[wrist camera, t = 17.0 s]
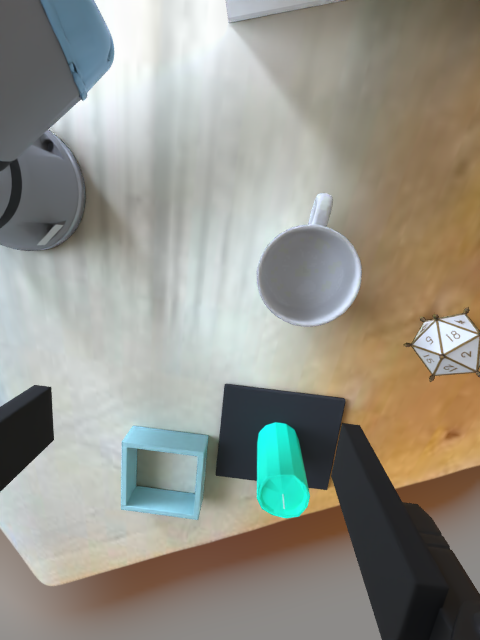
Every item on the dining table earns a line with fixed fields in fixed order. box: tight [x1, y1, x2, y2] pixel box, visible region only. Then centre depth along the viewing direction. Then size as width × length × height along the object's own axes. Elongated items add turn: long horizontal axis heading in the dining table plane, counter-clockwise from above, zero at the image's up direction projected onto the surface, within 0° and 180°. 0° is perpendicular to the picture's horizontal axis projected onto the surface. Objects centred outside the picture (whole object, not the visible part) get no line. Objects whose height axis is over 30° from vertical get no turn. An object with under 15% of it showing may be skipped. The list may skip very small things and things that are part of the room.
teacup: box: [257, 193, 362, 327], centre depth 36 cm, size 14×11×8 cm
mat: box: [216, 384, 345, 490], centre depth 46 cm, size 17×15×1 cm
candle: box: [257, 422, 310, 518], centre depth 40 cm, size 6×6×12 cm
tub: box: [121, 426, 208, 520], centre depth 47 cm, size 12×12×4 cm
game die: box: [404, 307, 480, 382], centre depth 37 cm, size 9×8×10 cm
